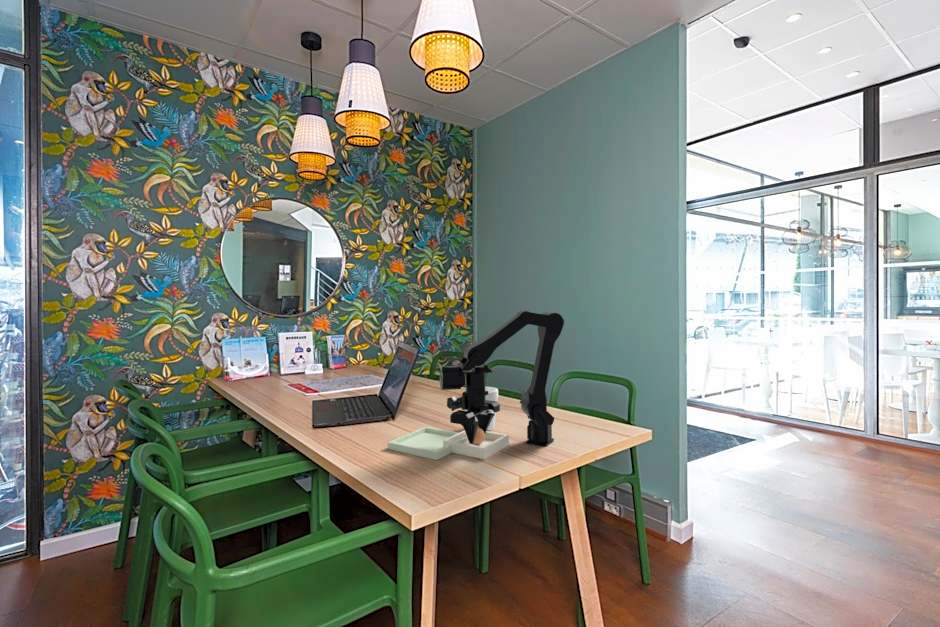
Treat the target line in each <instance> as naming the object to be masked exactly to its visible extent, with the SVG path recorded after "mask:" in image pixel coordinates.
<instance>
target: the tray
mask: <svg viewBox="0 0 940 627" xmlns="http://www.w3.org/2000/svg"><path fill="white" fill-rule="evenodd" d="M458 433H459V432H457V431H452V430H446V429H441V428H436V427H430V426H424V427H421V428H419V429H417V430H414V431H411V432H409V433H407V434H404V435H401V436H399V437H398V438H397V437H396V438H395V439H392V440H390V441H387V450H392V451H395V452H400V453H403V454H408V455H412V456H417V457H421V458H425V459H430V460H435V461H438V460H441V459H442V458H445V457H446V456H448V455H449V454H453V453H452V446H451V445H448V446H446V447H444V448H443V440H445V439H447V438H449V437H451V436H453V435H455V434H458ZM466 441H468V438H467V435H465V437H464V438H462V439H460V440H458V441H456V442H461V443H464V442H466Z"/></svg>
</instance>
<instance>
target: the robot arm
mask: <svg viewBox="0 0 940 627" xmlns="http://www.w3.org/2000/svg"><path fill="white" fill-rule="evenodd" d="M527 325H533V326H536V327H537V334H538V339H539V340H538V345H537V351H536V356H535V361H534V365H533V370H532V375H531V380H530V385H529V387H528V389H527V390H522V391H521V399H520V400H519V404H520V407H521V410H522V412H523V413H524V414H525V415H526V416H527V418H528V419H529V420H528V425H527V427H526V428H527V429H526V430H527V432H526V433H527V434H526V438H527V440H526V444H532V445H538V446H542V447H547V446H549V445H550V444H552V442H554V441H555V438H553V437H552V436H553V433H552V432H553V431H552V426H553V423H554V421H555V417H554V416H553V415H552V414H551V413H550V412H549V411H548V410H547V408H548V407H547V406H548V398H547V394H546V389H547V388H546V387H547V383H548V378H549V373H550V367H551V363H552V357H553V352H554V347H555V344H556V342H557V340H558V339H559V337H560V336H561V335H562V334H561V333H562V331H563V328H564V325H565V319H564V318H563V316H562V315H561V314H560V313H558V312H550V311H549V312H547V311H546V312H545V311H544V312H543V313H535V312H530V311H527V310H520V311H518V312H517V313H516V315H514V316H513V317H511V318H510V319H509V320H508V321H506V322H505V323H504V324H502V325H501V326H500V327H498V328H497V329H496V330H495V331H493V332H492V333H490V334H489V335H487V336H486V337H483V338H482V339H479V340H477V341H475V342H473V343H470V344H468V345H467V346H466V348H464V350H463V356H462V358H461V359H460V361H459V362H458V363H457V365H455V366H454V365H453V366H451V365H450V366H447V365H441V367H440V375H439V387H440V390H441V391H450V390H452V391H453V390H461V389H462V388H463V387H464V386H465V391H462V394H461V395H462V396H460V397H456V396H454V395H453V396H450V397H447V398H446V399H447V400H446V407H447V408H448V409H449V410H450V409H451V414H450V415H449V418H450V420H449V422H450V423H451V424H456V425H461V426H462V427H463V431H464V430H465V432H466V435H467V438H468V441H469V443H470V444H473V443H474V439H475V435H476V431H477V427H479V428H481V429H482V430H483V431H484V433H486V431H487V429H488V427H489V424H490V422H491V420H492V418H493V416H495V414H493V413H491V411H490V410H493V411H494V412H495V413H496V414H497V413H499V412H500V411H501V405H500V403H499V402H498V400H497V401H490V400H486V395H488V391H485V387H486V374H487V373H488V374H489V373H493V369H491V368H490V367H489V366H488V364H486V362H488V360H489V358H491V357H492V356H493V355H494V354H493V353H494V352H495V351H496V350H497V349H498V348H499V347H500V346H501V345H502V344H504V343H505V342H506V341H508V340H509V339H511V337H513V336H514V335H515V334H517V333H518V332H520V331H521V330H522V329H523V328H524V327H526V326H527ZM458 409H459V410H458ZM460 409H461V410H460ZM455 410H457V411H455ZM475 417H476V418H477V420H478V421H475ZM495 417H496V416H495Z"/></svg>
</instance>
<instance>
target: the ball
mask: <svg viewBox="0 0 940 627" xmlns="http://www.w3.org/2000/svg"><path fill="white" fill-rule="evenodd" d="M484 439H485V433H484V431H483V430H482V429H481V428H479V427H477V431H476V435H475V439H474V443H473V444H474V445H478V444H481V443H482V442H483V441H484Z"/></svg>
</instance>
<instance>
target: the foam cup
mask: <svg viewBox="0 0 940 627" xmlns="http://www.w3.org/2000/svg"><path fill="white" fill-rule="evenodd" d="M485 391H488V395H486V400H490V401H497V402H498V398H499V389H498V388H497V387H492V386H485ZM490 411H491V413H493V414H495V416H493V418H492V420H491V422H490V424H489V427H488V429H487V431H492V430H494V429H495V426H496V425H495V424H496V423H495V422H496V417H497V416H496V414H497V412H496V413H495V412H494V411H493V410H490ZM475 421H478V420H477V418H476V417H475Z"/></svg>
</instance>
